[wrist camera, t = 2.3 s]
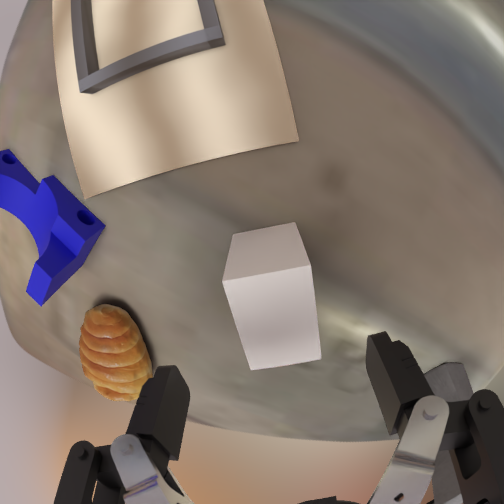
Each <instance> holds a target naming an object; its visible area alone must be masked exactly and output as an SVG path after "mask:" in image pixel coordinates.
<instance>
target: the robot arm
mask: <svg viewBox="0 0 504 504" xmlns="http://www.w3.org/2000/svg"><path fill="white" fill-rule="evenodd" d="M366 368H367V373H368V376H369V378H370V381H371V384H372V386H373V389H374V392H375V395H376V397H377V400H378V403H379V406H380V408H381V411H382V414H383V417H384V420H385V423H386V426H387V429H388V432H389V435H393V434H396V433H398V436H399V439H400V441H399V443H398V445H397V447H396V450H395V452H394V454H393V456H392V459H391V460H390V462H389V465H388V467H387V469H386V471H385V473H384V475H383V476H382V479H381V480H380V482H379V484H378V486H377V487H376V489H375V491H374V493H373V494H372V496H371V498H370V500H369V501H368V503H367V504H420V503H421V501H422V499H423V496H424V494H425V492H426V490H427V487H428V485H429V483H430V480H431V478H432V475H433V473H434V469H435V464H434V462H435V458H436V455H437V452H438V451H444V450H449V454H450V457H451V460H452V463H453V466H454V470H455V473H456V477H457V480H458V484H459V488H460V491H461V495H462V499H463V503H464V504H504V408H503V406H502V404H501V402H500V400H499V398H498V396H497V395H496V394H495V393H494V392H492V391H491V390H486V389H483V390H479V391H477V392H475V393H474V394H473V395H472V396H471V398H470V400H463V401H456V402H447V401H445V400H444V399H442V398H441V397H438V396H436V395H435V394H434V393H433V391H432V389H431V387H430V386H429V384H428V382H427V380H426V378H425V376H424V374H423V372H422V371H421V369H420V367H419V366H418V363H417V361H416V360H415V358H414V356H413V354H412V353H411V351H410V349H409V347H408V346H406V345H405V344H404V343H402V342H401V341H400V340H398V341H394V342H392V341H391V339H390V337H389V335H388V334H387V332H385V331H384V332H381V333H377V334H373V335H369V336H368V338H367V351H366ZM189 402H190V391H189V388H188V386H187V384H186V382H185V380H184V379H183V377H182V375H181V373H180V371H179V370H178V368H177V366H175V365H170V366H158V367H157V369H156V372H155V375H154V378H149V379H148V380H147V381H146V382H145V384H144V385H143V386H142V388H141V391H140V394H139V398H138V400H137V402H136V405H135V408H134V411H133V414H132V417H131V420H130V423H129V426H128V429H127V432H126V434H124V435H121V436H119V437H117V438H116V439H115V440H114V441H113V443H112V444H111V445H106V446H99V447H94V446H93V445H92V444H91V443H90V442H88V441H79V442H77V443H75V444H74V445H73V446H72V448H71V449H70V452H69V455H68V458H67V461H66V464H65V467H64V471H63V473H62V476H61V480H60V483H59V486H58V490H57V493H56V497H55V500H54V504H125V503H126V504H194V503H193V502H192V501H191V500H190V499H189V497H188V496H187V494H186V493H185V492H184V490H183V489H182V487H181V486H180V484H179V483H178V481H177V479H176V478H175V476H174V475H173V473H172V472H171V470H170V468H169V467H168V462H169V460H176V461H178V459H179V453H180V448H181V443H182V437H183V432H184V427H185V422H186V417H187V412H188V407H189ZM96 481H97V485H96V489H95V494H94V498H93V503H92V495H93V491H94V487H95V483H96ZM299 504H359V503H356V502H351V501H337V500H336V496H333V497H328V498H323V499H317V500H310V501H305V502H302V503H299Z"/></svg>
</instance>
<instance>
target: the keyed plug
mask: <svg viewBox="0 0 504 504" xmlns="http://www.w3.org/2000/svg"><path fill="white" fill-rule="evenodd" d="M222 283H223V286H224V289H225V293H226V296H227V299H228V302H229V305H230V308H231V312H232V315H233V318H234V321H235V324H236V327H237V330H238V333H239V336H240V339H241V342H242V345H243V348H244V351H245V354H246V357H247V360H248V363H249V366H250V369H251V370H257V369H264V368H271V367H279V366H286V365H292V364H297V363H302V362H308V361H313V360H318V359H321V349H320V338H319V329H318V319H317V310H316V302H315V294H314V286H313V278H312V271H311V264H310V262H309V259H308V256H307V253H306V250H305V247H304V245H303V242H302V239H301V236H300V234H299V231H298V228H297V226H296V223H295V222H293V223H288V224H283V225H277V226H272V227H267V228H262V229H257V230H252V231H247V232H242V233H237V234H233V237H232V241H231V245H230V249H229V254H228V258H227V262H226V266H225V270H224V275H223V279H222Z"/></svg>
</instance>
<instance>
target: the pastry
mask: <svg viewBox="0 0 504 504" xmlns="http://www.w3.org/2000/svg"><path fill="white" fill-rule="evenodd" d="M81 333H82V334H81V336H80V341H79V345H80V348H79V352H80V359H81V363H82V368H83V371H84V374H85V376H86V377H87V378H89V379H90V380H92V381H93V384H94V388H95V389H96V390H97V391H98V392H99V393H100V394H101V395H103V396H104V397H106V398H108V399H111V400H113V401H123V400H125V401H131V400H135V399H137V398H139V394H140V391H141V388H142V386H143V385H144V384H145V382H146V381H147V380H148V379H149V378H152V377H153V374H152V363H151V360H150V358H149V354H148V352H147V349H146V346H145V343H144V342H143V339H142V336H141V333H140V331H139V328H138V327H137V325H136V323H135V322H134V321H133V320H132V319H131V317H130V316H129V314H128V313H127V312H126V311H125V310H123V309H122V308H120V307H115V306H112V305H109V304H102V305H99V306H96V307H94V308H92V309H90V310H88V311H87V312H86V314H85V319H84V323H83V325H82V327H81Z"/></svg>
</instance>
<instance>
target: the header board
mask: <svg viewBox="0 0 504 504" xmlns="http://www.w3.org/2000/svg"><path fill="white" fill-rule="evenodd" d="M53 42H54V55H55V66H56V74H57V82H58V89H59V96H60V102H61V108H62V113H63V118H64V123H65V128H66V133H67V137H68V141H69V146H70V150H71V154H72V158H73V162H74V165H75V169H76V173H77V176H78V180H79V183H80V186H81V190H82V193H83V196H84V199H87V198H90V197H92V196H95V195H97V194H100V193H103V192H106V191H108V190H111V189H114V188H117V187H120V186H123V185H126V184H129V183H132V182H135V181H138V180H141V179H144V178H147V177H150V176H153V175H157V174H160V173H163V172H167V171H170V170H173V169H177V168H180V167H184V166H188V165H191V164H195V163H199V162H203V161H207V160H211V159H215V158H219V157H223V156H227V155H231V154H236V153H240V152H245V151H249V150H254V149H259V148H264V147H269V146H274V145H280V144H285V143H291V142H297V141H299V138H298V133H297V128H296V124H295V119H294V114H293V110H292V105H291V101H290V97H289V92H288V88H287V84H286V80H285V76H284V72H283V68H282V64H281V60H280V56H279V53H278V49H277V45H276V42H275V38H274V34H273V31H272V27H271V24H270V21H269V17H268V14H267V11H266V7H265V4H264V1H263V0H53Z"/></svg>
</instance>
